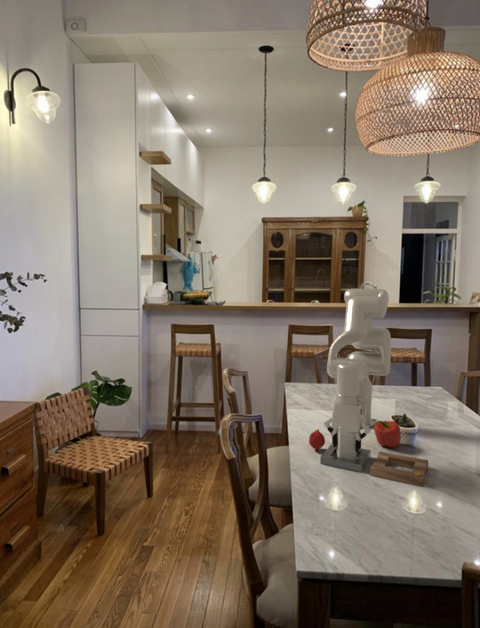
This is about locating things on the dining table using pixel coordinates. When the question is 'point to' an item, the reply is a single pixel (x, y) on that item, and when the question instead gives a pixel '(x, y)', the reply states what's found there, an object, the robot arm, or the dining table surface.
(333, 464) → the gray square frame
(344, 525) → the dining table surface
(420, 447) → the dining table surface
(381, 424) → the vegetable
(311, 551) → the dining table surface
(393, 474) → the frame
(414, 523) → the dining table surface
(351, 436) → the skincare box
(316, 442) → the onion
